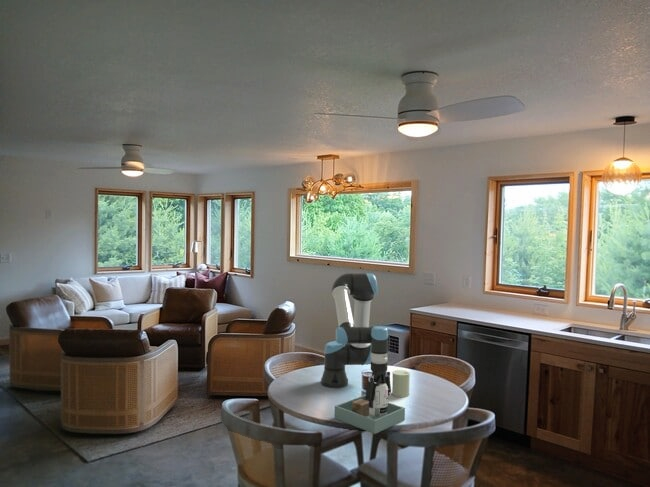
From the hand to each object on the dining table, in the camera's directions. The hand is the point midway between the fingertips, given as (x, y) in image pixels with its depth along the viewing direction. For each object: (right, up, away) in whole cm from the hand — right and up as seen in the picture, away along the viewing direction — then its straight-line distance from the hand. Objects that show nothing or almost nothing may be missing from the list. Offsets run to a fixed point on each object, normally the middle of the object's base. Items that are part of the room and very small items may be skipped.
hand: (378, 411), depth 215 cm
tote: (-4, -5, +4) cm, 7 cm away
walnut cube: (-7, -4, +7) cm, 11 cm away
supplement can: (0, -2, 0) cm, 2 cm away
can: (+16, -4, +38) cm, 41 cm away
